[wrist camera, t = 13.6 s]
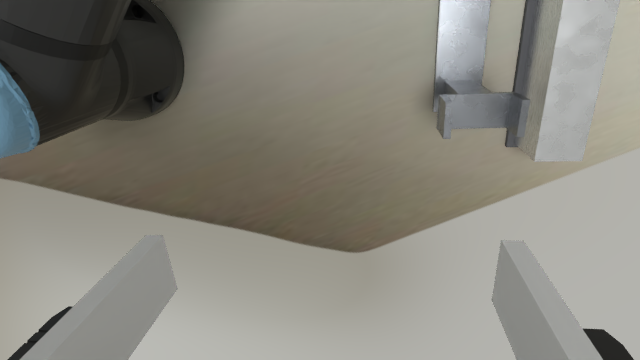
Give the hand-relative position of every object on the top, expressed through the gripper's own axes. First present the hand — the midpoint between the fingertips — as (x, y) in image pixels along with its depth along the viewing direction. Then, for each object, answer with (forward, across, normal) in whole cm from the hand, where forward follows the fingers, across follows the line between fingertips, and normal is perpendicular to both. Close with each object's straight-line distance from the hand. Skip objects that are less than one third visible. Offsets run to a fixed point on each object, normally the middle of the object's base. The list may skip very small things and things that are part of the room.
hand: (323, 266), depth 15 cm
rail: (+32, +21, +7) cm, 39 cm away
